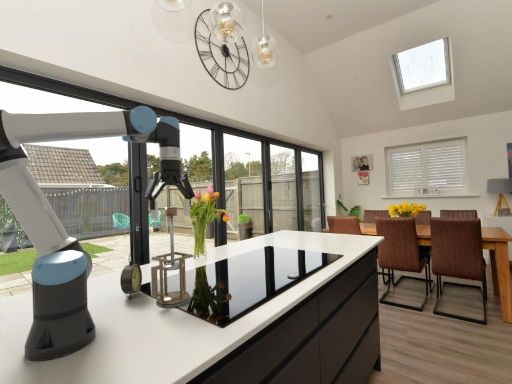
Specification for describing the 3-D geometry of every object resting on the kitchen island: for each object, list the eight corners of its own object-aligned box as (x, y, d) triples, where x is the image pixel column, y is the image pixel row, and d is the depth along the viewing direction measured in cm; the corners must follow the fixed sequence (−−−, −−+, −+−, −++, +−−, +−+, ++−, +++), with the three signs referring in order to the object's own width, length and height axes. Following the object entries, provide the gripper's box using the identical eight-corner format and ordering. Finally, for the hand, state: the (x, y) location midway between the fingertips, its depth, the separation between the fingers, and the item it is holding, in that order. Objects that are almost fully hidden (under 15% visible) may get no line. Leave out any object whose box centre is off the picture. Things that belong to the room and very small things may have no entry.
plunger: (170, 271, 91) (168, 208, 92) (157, 268, 96) (155, 208, 96) (187, 266, 97) (186, 206, 98) (175, 263, 102) (173, 206, 102)
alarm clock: (133, 300, 98) (131, 256, 98) (118, 301, 98) (116, 257, 98) (143, 290, 109) (142, 250, 109) (129, 290, 109) (128, 251, 109)
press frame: (164, 312, 87) (162, 262, 87) (144, 304, 94) (143, 258, 94) (197, 298, 98) (196, 254, 98) (177, 292, 105) (176, 251, 105)
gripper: (143, 155, 85) (145, 221, 85) (202, 161, 105) (204, 214, 105) (131, 158, 90) (133, 220, 89) (190, 163, 109) (192, 214, 109)
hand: (171, 217), depth 97 cm, fingers open, 13 cm apart
